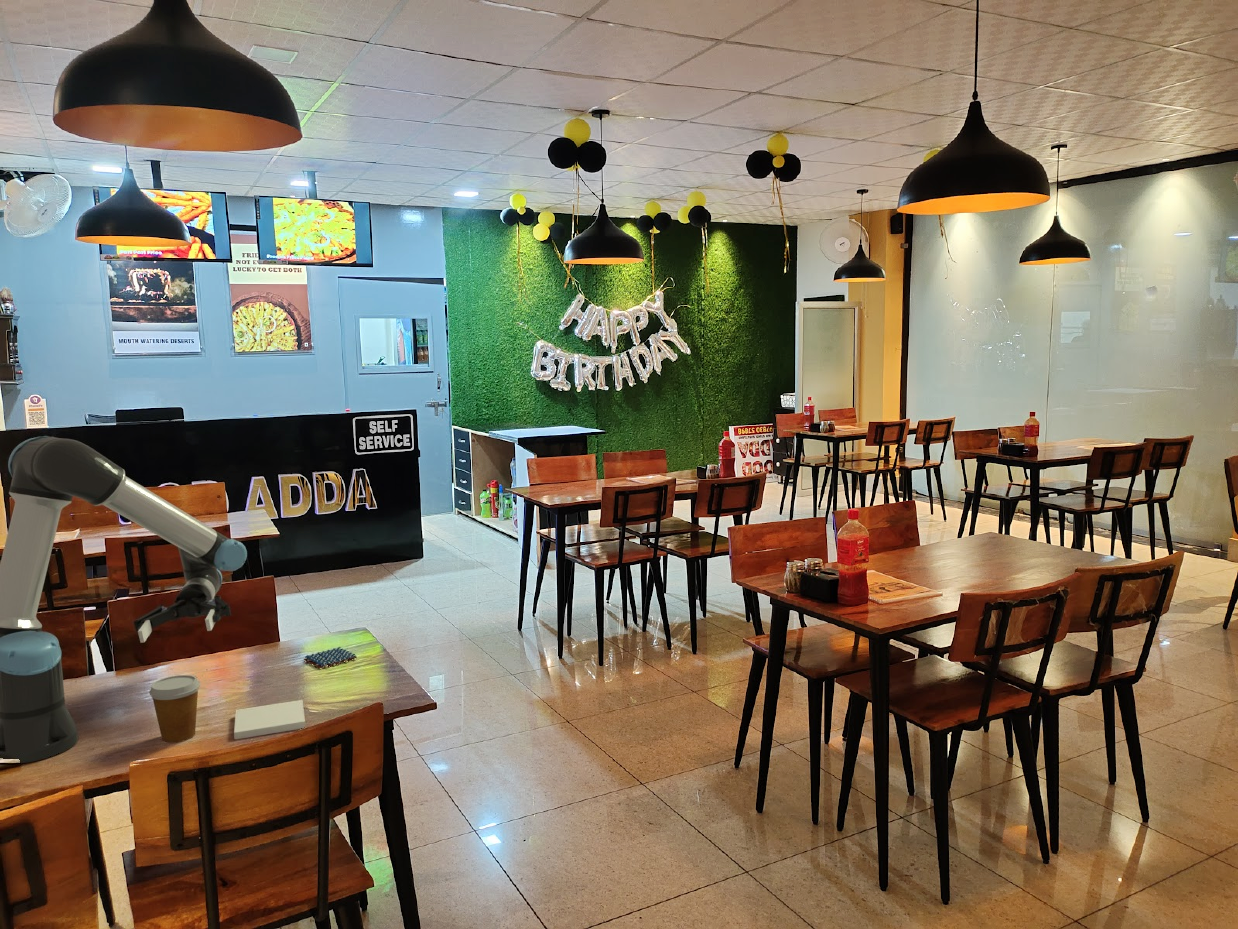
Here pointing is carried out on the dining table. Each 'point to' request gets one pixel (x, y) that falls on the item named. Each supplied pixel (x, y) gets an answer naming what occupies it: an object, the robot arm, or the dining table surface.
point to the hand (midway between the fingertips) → (174, 631)
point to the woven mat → (329, 657)
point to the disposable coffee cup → (176, 706)
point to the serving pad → (269, 719)
